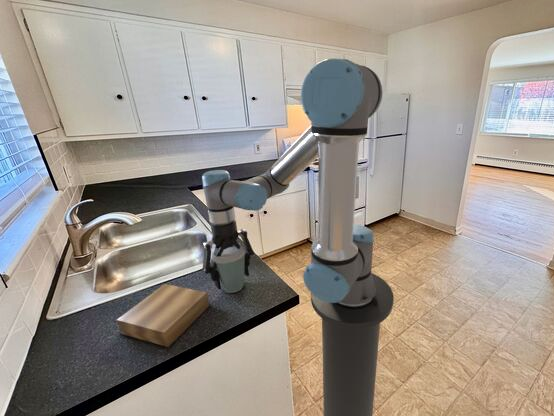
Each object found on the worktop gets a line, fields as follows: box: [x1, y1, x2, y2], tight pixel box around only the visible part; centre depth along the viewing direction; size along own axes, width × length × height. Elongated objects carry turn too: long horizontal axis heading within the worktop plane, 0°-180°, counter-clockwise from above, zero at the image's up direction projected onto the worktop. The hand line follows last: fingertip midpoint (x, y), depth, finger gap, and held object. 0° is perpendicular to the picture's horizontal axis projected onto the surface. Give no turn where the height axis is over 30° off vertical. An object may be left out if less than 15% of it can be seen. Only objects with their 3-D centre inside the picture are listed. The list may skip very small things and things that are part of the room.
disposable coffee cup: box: [211, 242, 246, 294], centre depth 89 cm, size 11×11×15 cm
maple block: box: [116, 283, 210, 348], centre depth 77 cm, size 16×16×5 cm
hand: (232, 280), depth 91 cm, fingers open, 9 cm apart
